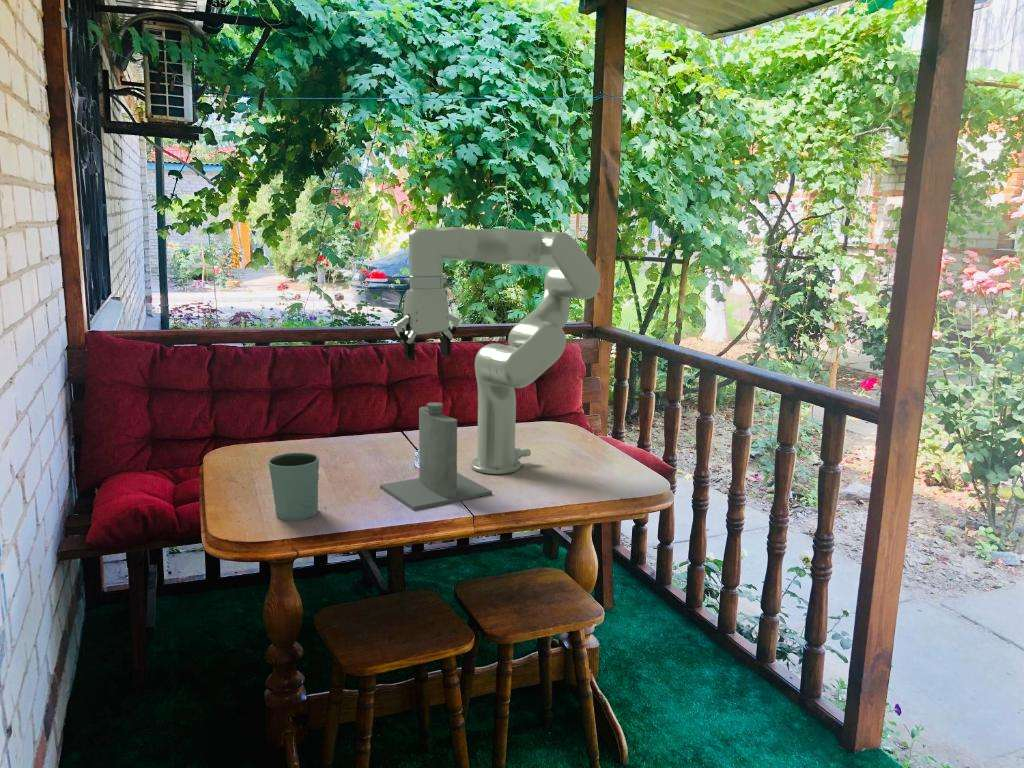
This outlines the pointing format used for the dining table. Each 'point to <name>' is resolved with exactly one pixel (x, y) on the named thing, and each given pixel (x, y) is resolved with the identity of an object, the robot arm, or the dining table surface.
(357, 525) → the dining table surface
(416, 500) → the rubber mat
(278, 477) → the green cup
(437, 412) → the hip flask
